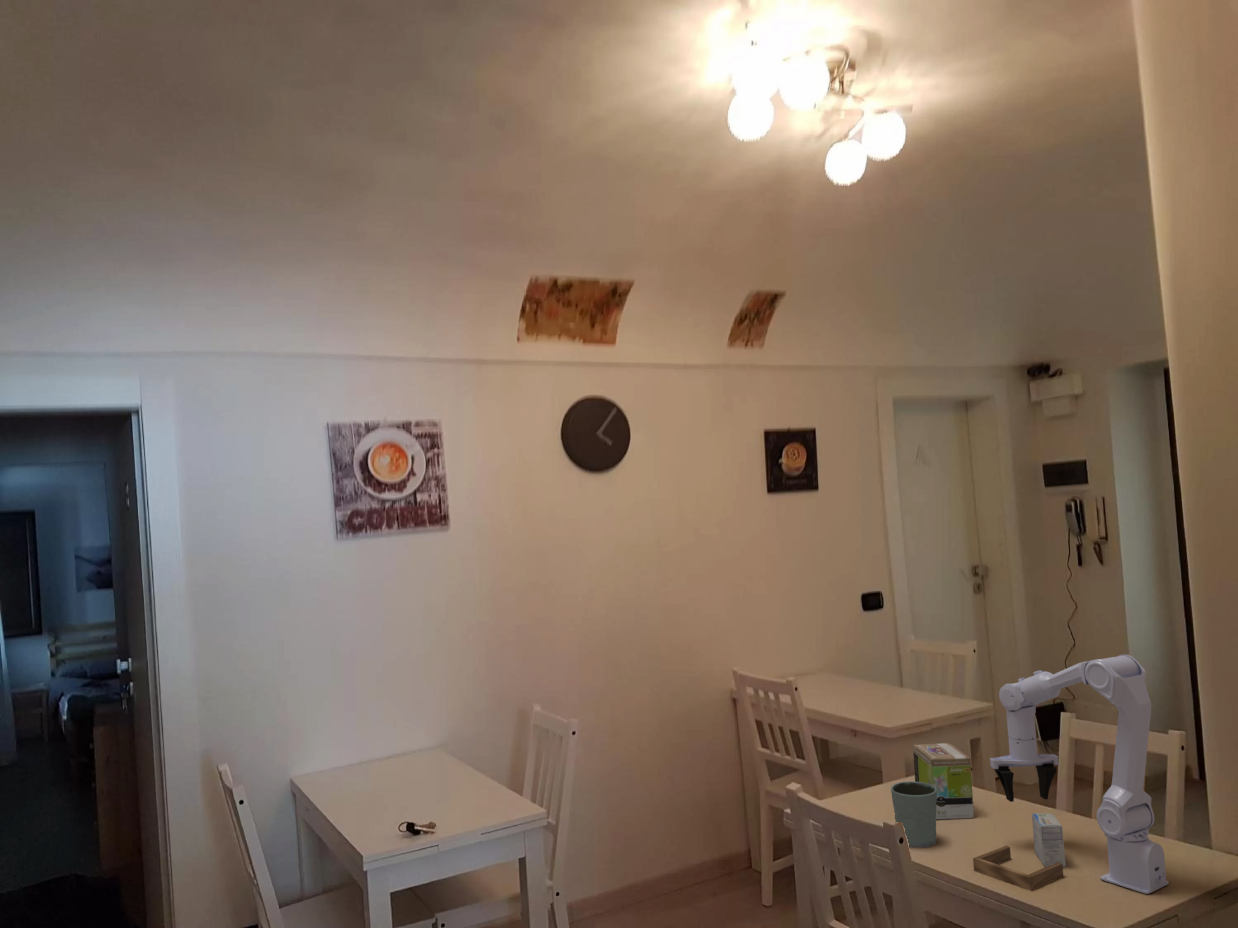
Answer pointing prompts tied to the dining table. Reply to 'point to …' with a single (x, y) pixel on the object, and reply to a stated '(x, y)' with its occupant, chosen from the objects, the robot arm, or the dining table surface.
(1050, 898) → the dining table surface
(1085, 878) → the dining table surface
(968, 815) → the tea box
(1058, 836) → the medicine box
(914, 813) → the teal cup
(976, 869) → the holder
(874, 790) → the dining table surface
